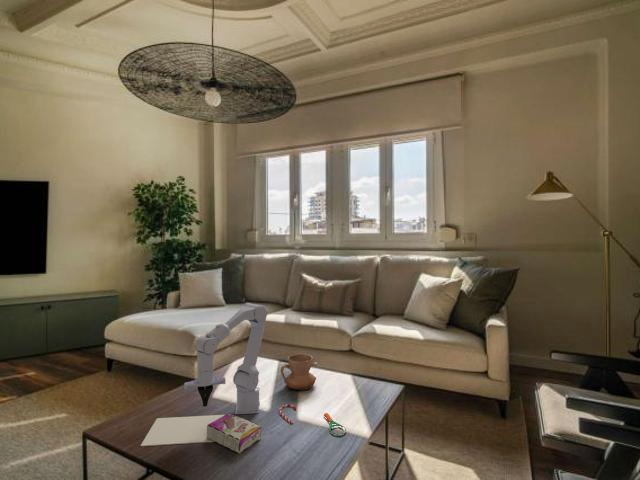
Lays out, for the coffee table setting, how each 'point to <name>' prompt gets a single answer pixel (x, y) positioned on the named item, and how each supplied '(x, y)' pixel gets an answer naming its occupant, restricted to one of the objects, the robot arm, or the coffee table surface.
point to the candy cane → (283, 414)
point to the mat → (179, 430)
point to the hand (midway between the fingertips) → (204, 405)
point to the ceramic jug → (299, 372)
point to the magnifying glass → (332, 422)
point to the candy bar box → (234, 432)
